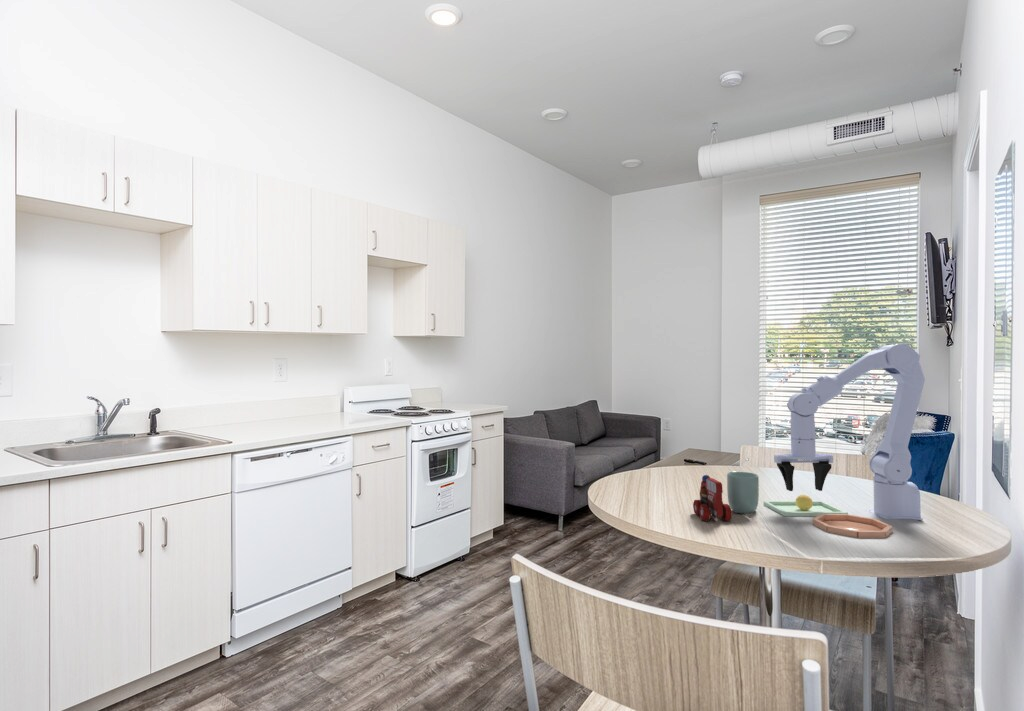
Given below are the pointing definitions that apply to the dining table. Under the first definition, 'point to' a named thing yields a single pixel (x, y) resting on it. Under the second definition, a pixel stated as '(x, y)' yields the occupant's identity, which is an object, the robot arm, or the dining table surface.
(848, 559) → the dining table surface
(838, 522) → the dish
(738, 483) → the cup
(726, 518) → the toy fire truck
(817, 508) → the tray
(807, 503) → the ball
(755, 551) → the dining table surface
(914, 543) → the dining table surface
